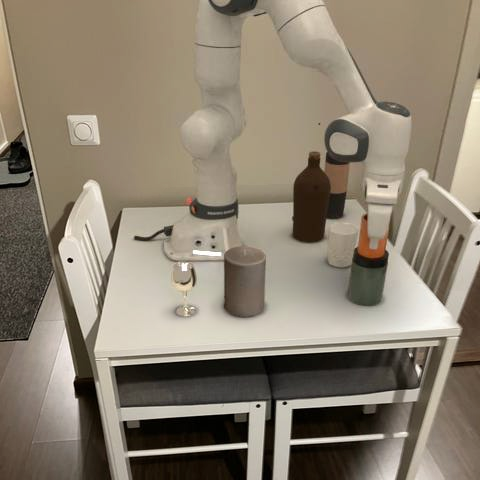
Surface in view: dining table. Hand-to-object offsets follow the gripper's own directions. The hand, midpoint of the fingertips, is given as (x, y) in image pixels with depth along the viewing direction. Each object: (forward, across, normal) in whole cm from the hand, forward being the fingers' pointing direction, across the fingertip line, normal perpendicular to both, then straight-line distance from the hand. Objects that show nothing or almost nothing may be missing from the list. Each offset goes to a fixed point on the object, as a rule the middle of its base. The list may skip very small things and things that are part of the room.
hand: (373, 240), depth 128 cm
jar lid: (+4, 0, 0) cm, 4 cm away
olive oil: (+15, -33, -18) cm, 40 cm away
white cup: (+15, -18, -7) cm, 24 cm away
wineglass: (+15, +16, -41) cm, 47 cm away
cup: (+3, 0, 0) cm, 3 cm away
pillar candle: (+15, +11, -28) cm, 34 cm away
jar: (+15, 0, 0) cm, 15 cm away
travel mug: (+15, -51, -12) cm, 54 cm away
